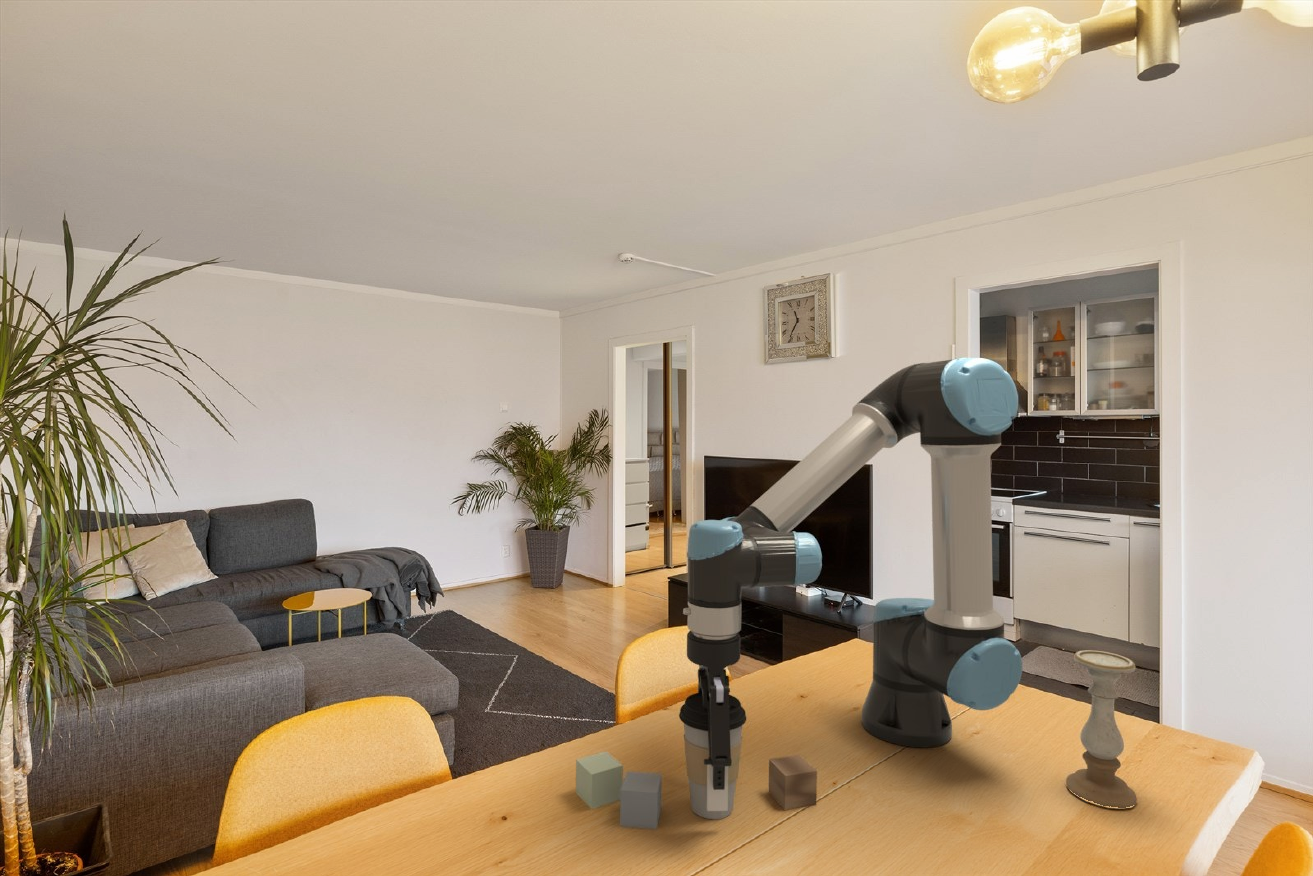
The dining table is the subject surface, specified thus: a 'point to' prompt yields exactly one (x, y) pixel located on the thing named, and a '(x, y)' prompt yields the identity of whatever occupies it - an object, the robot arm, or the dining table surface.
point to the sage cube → (599, 779)
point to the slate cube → (640, 800)
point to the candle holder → (1102, 734)
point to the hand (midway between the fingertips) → (711, 786)
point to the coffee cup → (699, 750)
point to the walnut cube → (792, 782)
